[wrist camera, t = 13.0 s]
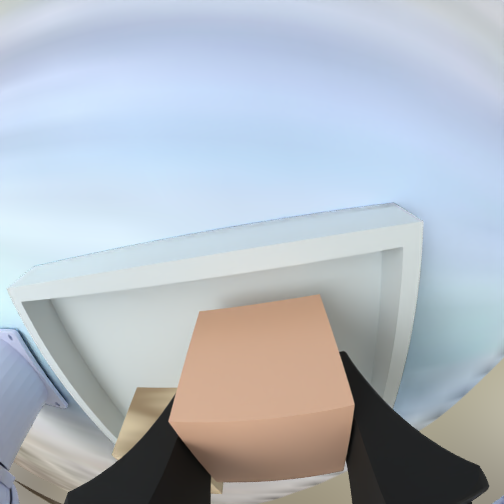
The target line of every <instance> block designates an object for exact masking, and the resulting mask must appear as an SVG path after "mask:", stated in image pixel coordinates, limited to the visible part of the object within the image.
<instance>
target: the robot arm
mask: <svg viewBox="0 0 504 504" xmlns="http://www.w3.org/2000/svg"><path fill="white" fill-rule="evenodd" d="M339 354H340V357H341V360H342V363H343V367H344V370H345V373H346V376H347V380H348V383H349V386H350V390H351V393H352V397H353V400H354V404H355V407H354V414H353V421H352V427H351V433H350V439H349V445H348V450H347V455H346V463H347V468H348V474H349V480H350V488H351V495H352V503H353V504H472V502H471V501H473V500H474V499H476V498H477V497H479V496H480V495H481V494H482V493H484V492H485V491H486V490H487V489H488V488H489V484H488V481H487V479H486V476H485V474H484V473H483V471H482V469H481V468H480V466H479V465H476V464H474V463H472V462H469V461H467V460H465V459H463V458H461V457H459V456H457V455H455V454H453V453H451V452H450V451H448V450H446V449H444V448H442V447H441V446H439V445H438V444H436V443H435V442H433V441H432V440H430V439H429V438H427V437H426V436H424V435H423V434H421V433H420V432H419V431H418V430H416V429H415V428H414V427H412V426H411V425H410V424H409V423H408V422H406V421H405V420H404V419H403V418H402V417H401V416H400V415H398V414H397V413H396V412H395V411H394V410H393V409H392V408H391V407H390V406H389V405H388V404H387V403H386V402H385V401H384V400H383V399H382V398H381V397H380V395H379V394H378V393H377V392H376V391H375V390H374V389H373V387H372V386H371V385H370V384H369V383H368V382H367V380H366V379H365V378H364V377H363V375H362V374H361V373H360V371H359V370H358V369H357V367H356V366H355V365H354V363H353V362H352V360H351V359H350V357H349V356H348V354H347V353H346V352H345V351H341V352H339ZM175 395H176V393H175ZM175 395H174V396H173V398H172V399H171V401H170V402H169V404H168V405H167V407H166V408H165V409H164V411H163V412H162V414H161V415H160V416H159V417H158V419H157V420H156V421H155V423H154V424H153V425H152V426H151V428H150V429H149V430H148V431H147V432H146V434H145V435H144V436H143V437H142V438H141V439H140V440H139V441H138V442H137V443H136V444H135V445H134V446H133V447H132V448H131V449H130V450H129V451H128V452H127V453H126V454H125V455H124V456H123V457H122V458H120V459H119V460H118V461H117V462H116V463H115V464H113V465H112V466H111V467H109V468H108V469H107V470H105V471H104V472H102V473H101V474H100V475H98V476H97V477H95V478H94V479H92V480H90V481H89V482H87V483H85V484H83V485H81V486H80V487H78V488H76V489H74V490H72V491H70V492H68V494H67V497H66V500H65V503H64V504H210V497H211V475H210V474H209V473H208V472H207V470H206V469H205V468H204V467H203V466H202V464H201V463H200V462H199V461H198V460H197V458H196V457H195V456H194V455H193V454H192V452H191V451H190V450H189V448H188V447H187V446H186V445H185V443H184V442H183V441H182V439H181V438H180V437H179V435H178V434H177V433H176V431H175V430H174V429H173V427H172V426H171V424H170V423H169V422H168V421H169V417H170V414H171V410H172V406H173V402H174V399H175ZM44 404H47V405H51V406H55V407H59V408H64V409H66V408H67V407H68V403H67V402H66V401H65V400H64V398H63V397H62V396H61V394H60V393H59V392H58V391H57V389H56V388H55V387H54V385H53V384H52V383H51V381H50V380H49V379H48V377H47V376H46V374H45V373H44V372H43V370H42V369H41V367H40V366H39V364H38V363H37V361H36V360H35V358H34V357H33V355H32V354H31V352H30V351H29V349H28V347H27V346H26V344H25V343H24V341H23V339H22V338H21V336H20V334H19V333H18V332H17V331H16V330H14V329H0V504H19V499H18V494H17V490H16V487H15V485H14V484H13V482H14V480H15V477H14V476H13V475H11V474H10V473H9V472H8V471H7V470H9V469H10V467H11V465H12V463H13V461H14V459H15V457H16V455H17V453H18V451H19V449H20V447H21V445H22V443H23V441H24V439H25V437H26V435H27V433H28V432H29V430H30V428H31V426H32V424H33V422H34V421H35V419H36V417H37V415H38V413H39V412H40V410H41V408H42V407H43V405H44ZM492 504H504V496H503V497H501V498H500V499H498V500H497V501H495V502H494V503H492Z"/></svg>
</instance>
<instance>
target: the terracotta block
mask: <svg viewBox="0 0 504 504" xmlns="http://www.w3.org/2000/svg"><path fill="white" fill-rule="evenodd" d="M354 407H355V404H354V400H353V397H352V393H351V390H350V386H349V383H348V380H347V376H346V373H345V370H344V367H343V363H342V360H341V357H340V354H339V351H338V347H337V344H336V341H335V338H334V335H333V332H332V329H331V326H330V323H329V320H328V317H327V314H326V311H325V308H324V305H323V302H322V299H321V296H320V294H317V295H311V296H305V297H299V298H293V299H287V300H280V301H274V302H267V303H260V304H253V305H246V306H239V307H231V308H223V309H215V310H207V311H199V314H198V318H197V321H196V324H195V328H194V331H193V334H192V338H191V341H190V345H189V348H188V352H187V355H186V359H185V362H184V366H183V369H182V373H181V377H180V380H179V384H178V387H177V391H176V395H175V399H174V402H173V406H172V410H171V414H170V417H169V421H168V422H169V423H170V424H171V426H172V427H173V429H174V430H175V431H176V433H177V434H178V435H179V437H180V438H181V439H182V441H183V442H184V443H185V445H186V446H187V447H188V448H189V450H190V451H191V452H192V454H193V455H194V456H195V457H196V458H197V460H198V461H199V462H200V463H201V464H202V466H203V467H204V468H205V469H206V470H207V472H208V473H209V474H210V475H211V476H212V477H213V478H214V480H215V481H216V482H261V481H276V480H287V479H296V478H304V477H311V476H317V475H323V474H329V473H334V472H340V471H343V470H344V465H345V460H346V455H347V450H348V445H349V439H350V433H351V427H352V421H353V414H354Z"/></svg>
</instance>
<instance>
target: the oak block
mask: <svg viewBox="0 0 504 504" xmlns="http://www.w3.org/2000/svg"><path fill="white" fill-rule="evenodd" d="M176 391H177V388H146V387H137V389H136V391H135V394H134V396H133V399H132V401H131V404H130V407H129V409H128V412H127V414H126V417H125V420H124V422H123V425H122V428H121V430H120V433H119V436H118V439H117V441H116V444H115V447H114V450H113V453H112V456H113V457H115V458H116V459H117V460H119V459H120V458H122V457H123V456H124V455H125V454H126V453H127V452H128V451H129V450H130V449H131V448H132V447H133V446H134V445H135V444H136V443H137V442H138V441H139V440H140V439H141V438H142V437H143V436H144V435H145V434H146V432H147V431H148V430H149V429H150V428H151V426H152V425H153V424H154V423H155V421H156V420H157V419H158V417H159V416H160V415H161V414H162V412H163V411H164V409H165V408H166V407H167V405H168V404H169V402H170V401H171V399H172V398H173V396H174V395H175V393H176ZM222 490H223V482H216V481H215V480H214V478H213V477H212V476H211V493H212V494H222Z"/></svg>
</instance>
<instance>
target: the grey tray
mask: <svg viewBox="0 0 504 504" xmlns="http://www.w3.org/2000/svg"><path fill="white" fill-rule="evenodd" d="M422 242H423V221H422V220H421V219H419V218H417V217H416V216H414V215H413V214H411V213H410V212H408V211H406V210H405V209H403V208H401V207H400V206H398V205H396V204H395V203H387V204H379V205H372V206H364V207H357V208H350V209H343V210H336V211H329V212H322V213H315V214H309V215H302V216H296V217H289V218H283V219H277V220H271V221H264V222H258V223H252V224H246V225H240V226H234V227H229V228H223V229H217V230H211V231H206V232H200V233H195V234H189V235H184V236H178V237H173V238H168V239H162V240H157V241H152V242H147V243H142V244H137V245H132V246H127V247H122V248H117V249H112V250H107V251H102V252H97V253H93V254H88V255H83V256H78V257H74V258H69V259H65V260H60V261H56V262H51V263H47V264H42V265H38V266H34V267H32V268H31V269H30V270H28V271H27V272H26V273H25V274H23V275H22V276H21V277H20V278H18V279H17V280H16V281H15V282H14V283H12V284H11V285H10V286H9V287H8V288H6V289H7V291H8V293H9V296H10V298H11V300H12V302H13V304H14V306H15V308H16V310H17V312H18V314H19V315H20V317H21V319H22V321H23V323H24V325H25V326H26V328H27V330H28V332H29V334H30V335H31V337H32V339H33V340H34V342H35V344H36V345H37V347H38V349H39V350H40V352H41V353H42V355H43V356H44V358H45V359H46V361H47V362H48V364H49V365H50V367H51V368H52V370H53V371H54V373H55V374H56V376H57V377H58V378H59V380H60V381H61V382H62V384H63V385H64V387H65V388H66V389H67V391H68V392H69V393H70V394H71V396H72V397H73V398H74V399H75V401H76V402H77V403H78V404H79V406H80V407H81V408H82V409H83V411H84V412H85V413H86V414H87V415H88V416H89V418H90V419H91V420H92V421H93V422H94V423H95V424H96V425H97V427H98V428H99V429H100V430H101V431H102V432H103V433H104V434H105V435H106V436H107V437H108V438H109V439H110V440H111V441H112V442H113V443H114V444H116V441H117V439H118V436H119V433H120V430H121V428H122V425H123V422H124V420H125V417H126V414H127V412H128V409H129V407H130V404H131V401H132V399H133V396H134V394H135V391H136V389H137V387H146V388H177V387H178V384H179V380H180V377H181V373H182V369H183V366H184V362H185V359H186V355H187V352H188V348H189V345H190V341H191V338H192V334H193V331H194V328H195V324H196V321H197V318H198V314H199V311H207V310H215V309H223V308H231V307H239V306H246V305H253V304H260V303H267V302H274V301H280V300H287V299H293V298H299V297H305V296H311V295H317V294H320V296H321V299H322V302H323V305H324V308H325V311H326V314H327V317H328V320H329V323H330V326H331V329H332V332H333V335H334V338H335V341H336V344H337V347H338V351H339V352H341V351H345V352H346V353H347V354H348V356H349V357H350V359H351V360H352V362H353V363H354V365H355V366H356V367H357V369H358V370H359V371H360V373H361V374H362V375H363V377H364V378H365V379H366V380H367V382H368V383H369V384H370V385H371V386H372V387H373V389H374V390H375V391H376V392H377V393H378V394H379V395H380V397H381V398H382V399H383V400H384V401H385V402H386V403H387V404H388V405H389V406H390V407H391V408H392V409H393V406H394V403H395V400H396V396H397V393H398V389H399V386H400V382H401V378H402V374H403V370H404V366H405V362H406V358H407V353H408V348H409V344H410V339H411V333H412V328H413V322H414V316H415V310H416V303H417V296H418V288H419V279H420V269H421V257H422Z"/></svg>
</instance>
